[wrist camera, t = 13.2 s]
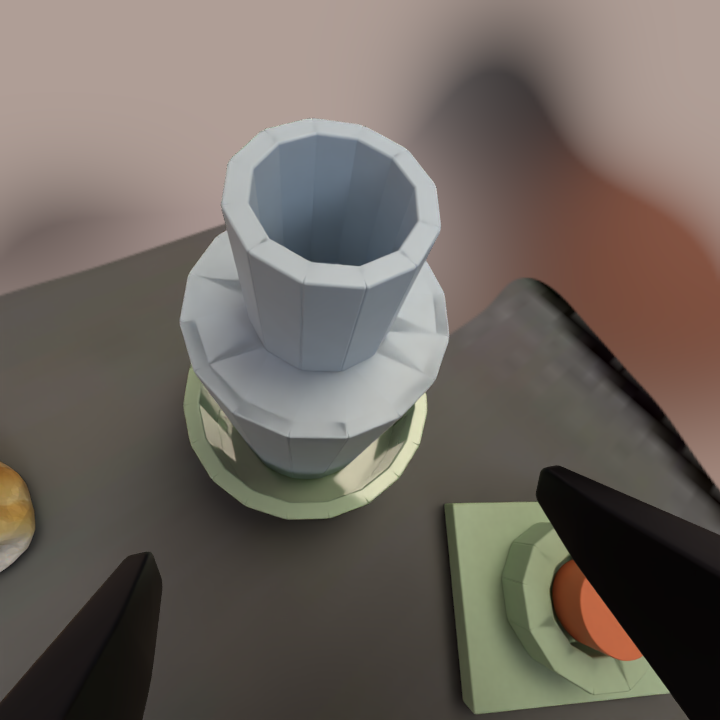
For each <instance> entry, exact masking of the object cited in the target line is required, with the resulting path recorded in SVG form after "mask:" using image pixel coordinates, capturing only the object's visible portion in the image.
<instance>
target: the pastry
mask: <svg viewBox="0 0 720 720" xmlns="http://www.w3.org/2000/svg"><path fill="white" fill-rule="evenodd" d="M34 531H35V515H34V509H33V505H32V502H31V497H30V493H29V490H28V487H27V485H26V483H25V482H24V480H23V479H22V478H21V477H20V475H19V474H18V473H17V472H15V471H14V470H13V469H12V468H11V467H9V466H7V465H6V464H4V463H2V462H1V461H0V572H1V571H2V570H4V569H5V568H7V567H8V566H10V565H11V564H12V563H13V562H14V561H15V560H16V559H17V558H18V557H19V556H20V555H21V554H22V553H23V552H24V551H25V550H26V549H27V548H28V547H29V544H30V542H31V540H32V537H33V534H34Z"/></svg>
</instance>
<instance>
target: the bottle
mask: <svg viewBox="0 0 720 720" xmlns="http://www.w3.org/2000/svg"><path fill="white" fill-rule="evenodd" d="M221 207H222V212H223V216H224V220H225V224H226V228H227V230H226V231H225V232H223V233H221V234H220V235H218V236H217V237H216V238H215V239H214V240H213V242H212V243H211V244H210V246H209V247H208V248H207V250H206V251H205V252H204V254H203V255H202V256H201V258H200V259H199V260H198V262H197V263H196V265H195V266H194V267H193V269H192V270H191V271H190V273H189V275H188V278H187V284H186V289H185V294H184V300H183V305H182V310H181V315H180V327H181V330H182V334H183V337H184V341H185V344H186V347H187V351H188V354H189V357H190V361H191V364H192V368H193V371H194V372H195V374H196V375H197V377H198V378H199V379H200V381H201V382H202V384H203V385H204V386H205V388H206V389H207V390H208V392H209V393H210V394H211V396H212V397H213V398H214V400H215V401H216V402H217V404H218V405H219V406H220V408H221V409H222V411H223V412H224V413H225V415H226V416H227V417H228V419H229V420H230V421H231V423H232V424H233V425H234V427H235V428H236V429H237V431H238V432H239V433H240V435H241V436H242V438H243V439H244V440H245V442H246V443H247V444H248V446H249V447H250V448H251V449H252V451H253V452H254V453H255V454H256V455H257V456H258V457H259V458H260V460H262V462H263V463H264V464H265V465H266V466H267V467H269V468H270V469H273V470H274V471H276V472H278V473H280V474H283V475H285V476H288V477H291V478H297V479H315V478H322V477H325V476H327V475H330V474H333V473H335V472H337V471H339V470H341V469H343V468H345V467H346V466H347V465H349V464H350V463H351V462H352V461H353V460H354V459H355V458H356V457H358V456H359V455H360V454H361V453H362V452H363V451H364V450H365V449H366V448H368V447H369V446H370V445H371V444H372V443H373V442H374V441H375V440H376V439H378V438H379V437H380V436H381V435H382V434H383V433H384V432H385V431H386V430H388V429H389V428H390V427H391V426H392V425H393V424H394V423H395V422H396V421H398V420H399V419H400V418H401V417H402V416H403V415H404V414H405V413H406V412H407V411H408V410H409V409H410V408H411V407H412V405H413V404H414V403H415V402H416V401H417V400H418V399H419V398H420V397H421V396H422V395H423V394H424V393H425V392H426V391H427V390H428V389H429V388H430V387H431V386H432V384H433V383H434V381H435V380H436V378H437V375H438V371H439V368H440V365H441V362H442V359H443V356H444V353H445V350H446V347H447V344H448V341H449V330H448V320H447V311H446V303H445V295H444V292H443V290H442V288H441V286H440V285H439V283H438V281H437V279H436V277H435V276H434V274H433V272H432V270H431V268H430V267H429V265H428V263H427V261H426V258H427V256H428V254H429V252H430V251H431V248H432V247H433V245H434V243H435V241H436V239H437V237H438V235H439V233H440V229H441V223H440V215H439V206H438V197H437V190H436V187H435V184H434V182H433V181H432V180H431V179H430V177H429V176H428V175H427V173H426V172H425V171H424V170H423V168H422V167H421V166H420V164H419V163H418V162H417V161H416V159H415V158H414V157H413V156H412V154H411V153H410V152H409V151H408V150H406V148H405V147H403V146H401V145H399V144H397V143H395V142H393V141H392V140H390V139H388V138H386V137H384V136H382V135H380V134H379V133H377V132H375V131H373V130H371V129H369V128H367V127H366V126H362V125H360V124H353V123H346V122H339V121H331V120H324V119H317V118H312V119H311V118H308V119H304V120H300V121H295V122H291V123H287V124H283V125H279V126H275V127H271V128H267V129H264V131H261V132H259V133H258V134H257V135H256V136H255V137H254V138H253V139H252V140H250V141H249V142H248V143H247V144H246V145H245V146H244V147H243V148H242V149H241V150H240V151H239V152H237V153H236V154H235V155H234V156H233V157H232V158H231V159H230V161H229V162H228V164H227V171H226V177H225V183H224V189H223V195H222V201H221Z"/></svg>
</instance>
